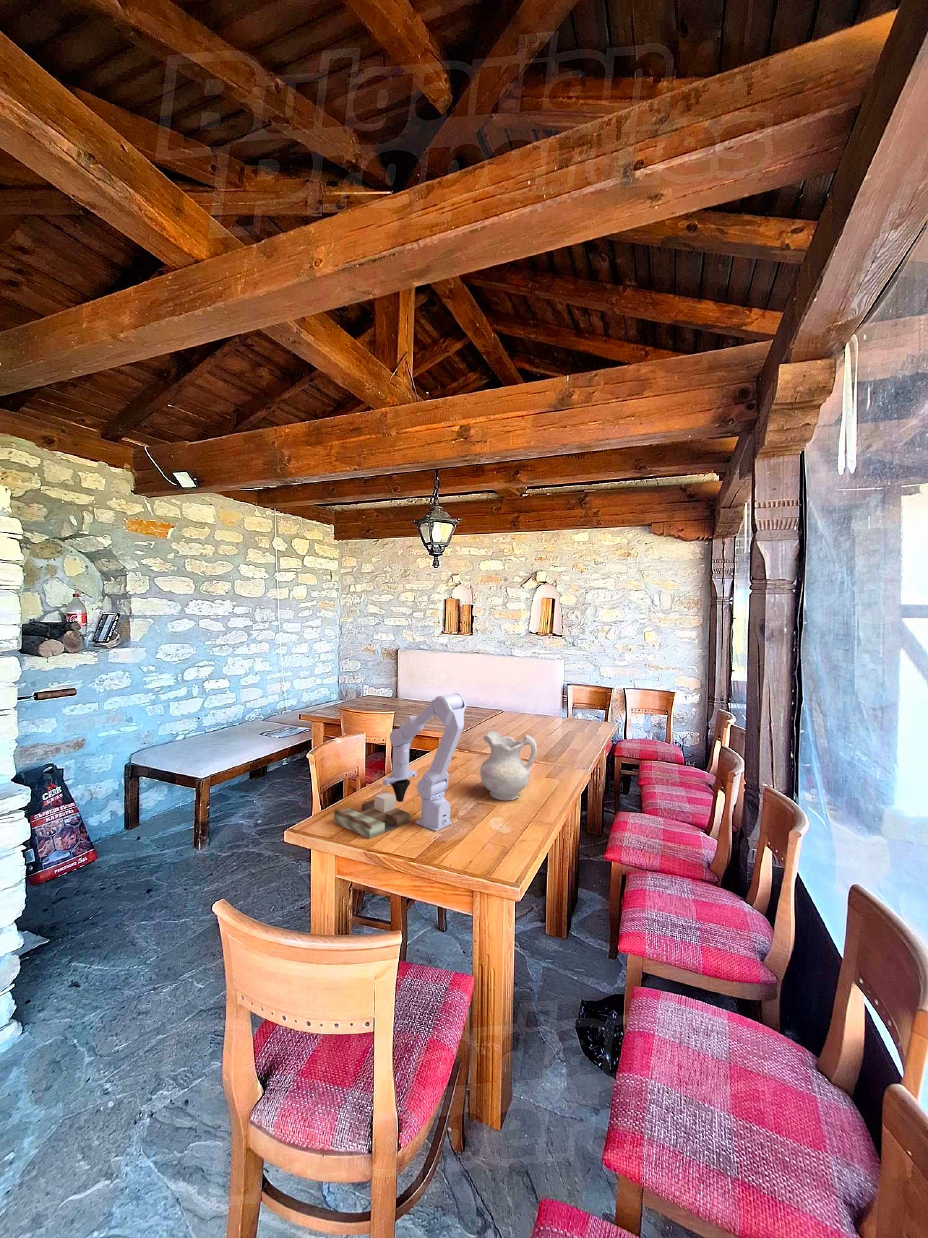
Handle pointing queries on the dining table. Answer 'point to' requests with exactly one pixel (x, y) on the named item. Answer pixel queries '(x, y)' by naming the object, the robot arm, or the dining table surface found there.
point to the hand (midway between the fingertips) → (399, 801)
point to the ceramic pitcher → (506, 766)
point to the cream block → (384, 802)
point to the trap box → (371, 820)
